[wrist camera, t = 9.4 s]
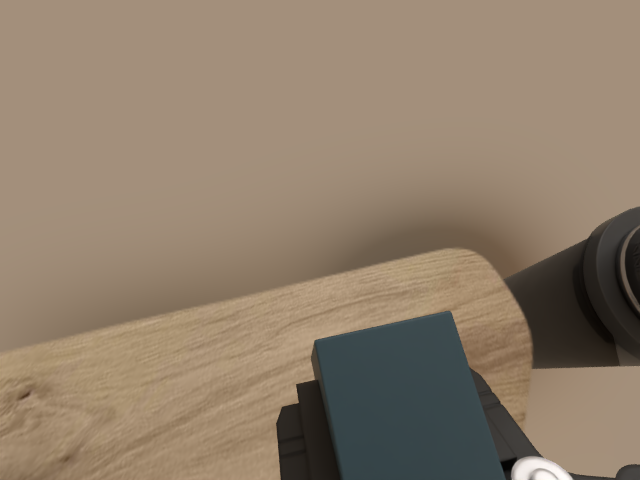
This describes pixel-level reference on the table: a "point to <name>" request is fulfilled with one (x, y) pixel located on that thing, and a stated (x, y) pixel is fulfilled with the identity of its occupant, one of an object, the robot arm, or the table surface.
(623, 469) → the robot arm
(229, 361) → the table surface
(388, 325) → the back pad
